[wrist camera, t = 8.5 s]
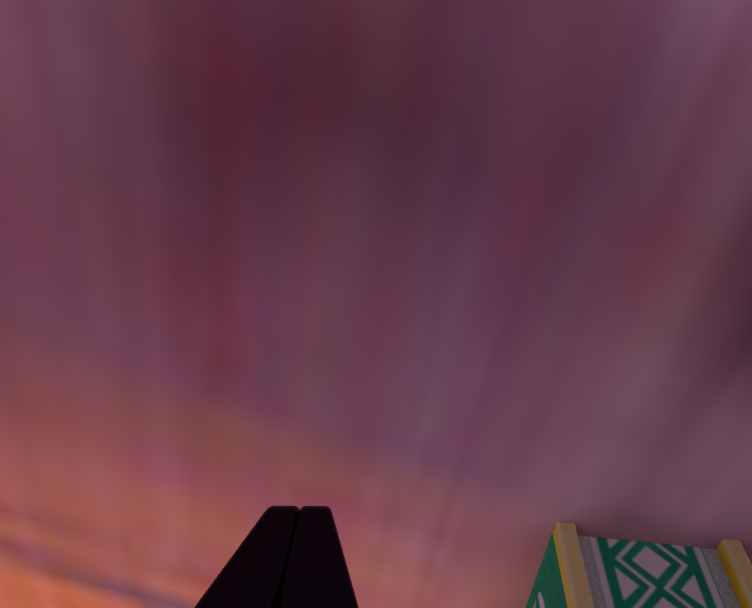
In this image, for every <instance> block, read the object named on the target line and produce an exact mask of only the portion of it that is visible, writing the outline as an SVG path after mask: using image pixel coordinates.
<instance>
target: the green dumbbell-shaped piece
mask: <svg viewBox="0 0 752 608" xmlns="http://www.w3.org/2000/svg"><path fill="white" fill-rule="evenodd" d="M526 608H752V565H751V562H750V560H749V558H748V556H747V554H746V552H745V550H744V547H743V545H742V543H741V541H740V540H732V539H723V540H722V541H721V542H720V544H719V546H718V548H717V549H708V548H698V547H688V546H679V545H669V544H659V543H649V542H639V541H629V540H619V539H610V538H600V537H590V536H580V535H578V534H577V530H576V526H575V524H574V523H565V522H558V523H556V525H555V527H554V530H553V533H552V536H551V539H550V541H549V544H548V547H547V550H546V553H545V555H544V558H543V561H542V564H541V567H540V569H539V572H538V575H537V578H536V581H535V583H534V586H533V589H532V592H531V595H530V597H529V600H528V603H527V606H526Z"/></svg>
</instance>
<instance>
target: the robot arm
mask: <svg viewBox="0 0 752 608" xmlns="http://www.w3.org/2000/svg"><path fill="white" fill-rule="evenodd" d="M194 608H359V607H358V604H357V600H356V597H355V593H354V589H353V586H352V582H351V579H350V575H349V572H348V568H347V565H346V561H345V557H344V554H343V550H342V547H341V543H340V540H339V536H338V533H337V529H336V525H335V522H334V518H333V515H332V512H331V509H330V508H329V507H327V506H303V507H302V508H301V509H299V508H298V507H296V506H271V507H269V508H268V509H267V510H266V511H265V512H264V514H263V515H262V516H261V518H260V519H259V520H258V522H257V523H256V525H255V526H254V527H253V529H252V530H251V531H250V533H249V534H248V535H247V537H246V538H245V539H244V541H243V542H242V544H241V545H240V546H239V548H238V549H237V550H236V552H235V553H234V554H233V556H232V557H231V558H230V560H229V561H228V563H227V564H226V565H225V567H224V568H223V569H222V571H221V572H220V573H219V575H218V576H217V577H216V579H215V580H214V582H213V583H212V584H211V586H210V587H209V588H208V590H207V591H206V592H205V594H204V595H203V596H202V598H201V599H200V601H199V602H198V603H197V605H196V606H195V607H194Z"/></svg>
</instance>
